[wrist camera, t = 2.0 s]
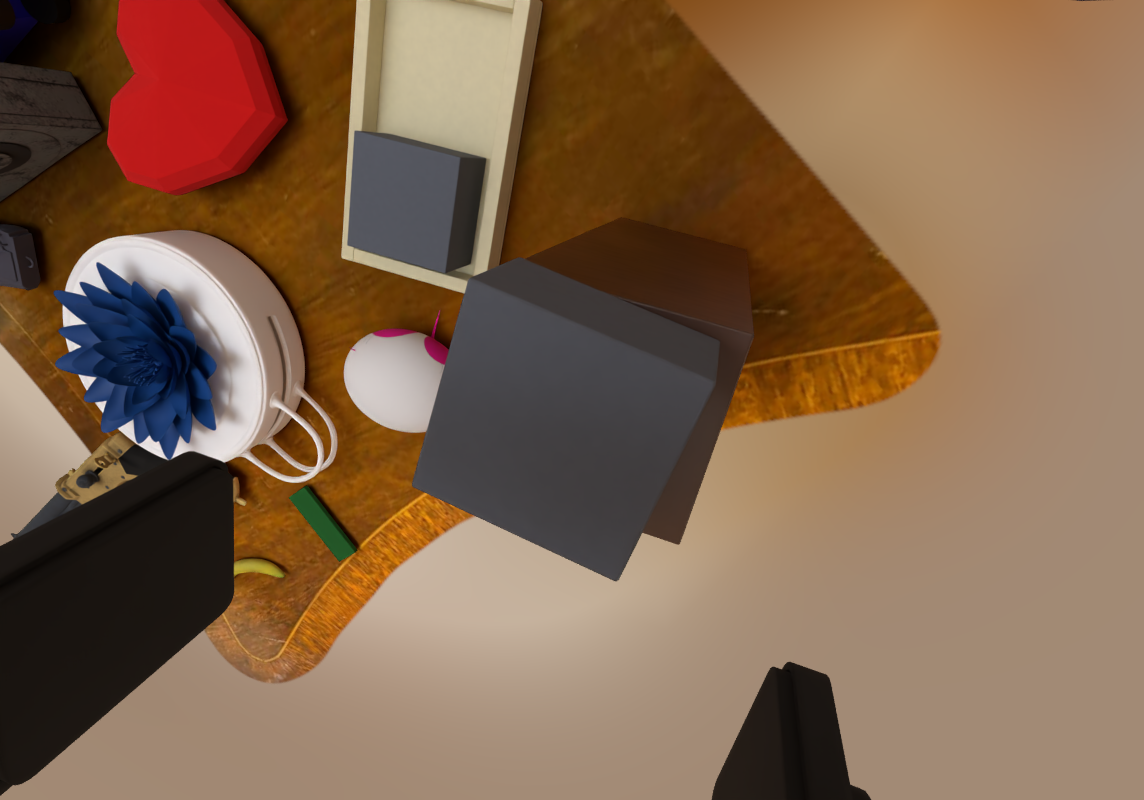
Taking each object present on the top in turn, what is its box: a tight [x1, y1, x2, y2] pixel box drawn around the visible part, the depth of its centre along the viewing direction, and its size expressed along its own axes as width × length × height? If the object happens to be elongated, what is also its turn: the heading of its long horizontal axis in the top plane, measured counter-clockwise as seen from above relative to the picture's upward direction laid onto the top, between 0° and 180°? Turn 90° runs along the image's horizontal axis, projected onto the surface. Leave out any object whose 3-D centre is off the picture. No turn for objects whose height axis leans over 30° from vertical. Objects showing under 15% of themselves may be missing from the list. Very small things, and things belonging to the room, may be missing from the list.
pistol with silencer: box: [11, 431, 247, 539], centre depth 50 cm, size 4×25×11 cm
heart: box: [107, 0, 288, 195], centre depth 35 cm, size 12×4×10 cm
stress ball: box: [344, 308, 449, 433], centre depth 38 cm, size 8×8×7 cm
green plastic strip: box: [289, 485, 357, 562], centre depth 46 cm, size 6×1×2 cm
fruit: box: [234, 558, 285, 578], centre depth 50 cm, size 7×1×3 cm
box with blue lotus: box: [54, 230, 338, 483], centre depth 40 cm, size 7×16×20 cm
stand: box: [525, 217, 754, 544], centre depth 26 cm, size 7×7×18 cm
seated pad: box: [347, 131, 486, 273], centre depth 34 cm, size 6×6×4 cm
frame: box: [341, 0, 543, 293], centre depth 33 cm, size 9×15×2 cm, turn 167°
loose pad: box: [412, 258, 720, 581], centre depth 16 cm, size 6×6×4 cm
